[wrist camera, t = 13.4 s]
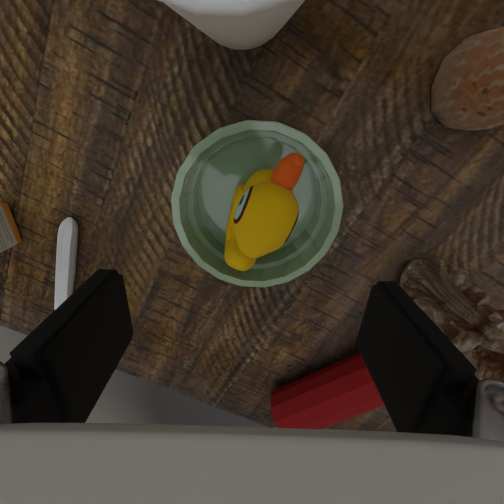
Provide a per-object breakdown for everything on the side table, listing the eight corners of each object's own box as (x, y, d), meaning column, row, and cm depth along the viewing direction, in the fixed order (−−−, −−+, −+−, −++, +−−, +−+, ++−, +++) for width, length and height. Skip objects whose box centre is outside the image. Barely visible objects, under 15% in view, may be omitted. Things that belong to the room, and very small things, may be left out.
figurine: (452, 241, 29) (623, 340, 16) (460, 283, 32) (616, 402, 18) (385, 267, 31) (488, 378, 17) (398, 305, 33) (497, 431, 19)
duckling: (260, 132, 24) (263, 135, 15) (311, 159, 25) (342, 176, 16) (214, 237, 29) (195, 287, 20) (259, 256, 30) (261, 312, 21)
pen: (61, 312, 34) (51, 321, 33) (66, 212, 29) (56, 217, 27) (73, 316, 34) (65, 324, 33) (81, 217, 29) (72, 222, 27)
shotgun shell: (418, 351, 36) (453, 398, 30) (292, 406, 41) (299, 457, 35) (398, 317, 34) (431, 361, 28) (267, 380, 39) (270, 430, 32)
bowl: (190, 258, 31) (177, 283, 26) (182, 117, 25) (164, 115, 20) (315, 264, 31) (327, 290, 26) (338, 126, 25) (359, 125, 20)
